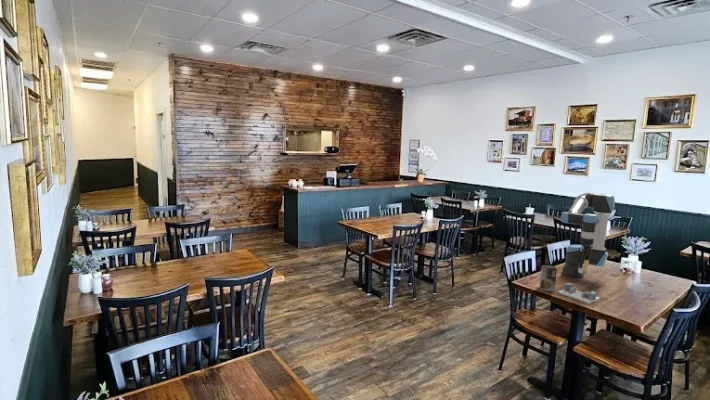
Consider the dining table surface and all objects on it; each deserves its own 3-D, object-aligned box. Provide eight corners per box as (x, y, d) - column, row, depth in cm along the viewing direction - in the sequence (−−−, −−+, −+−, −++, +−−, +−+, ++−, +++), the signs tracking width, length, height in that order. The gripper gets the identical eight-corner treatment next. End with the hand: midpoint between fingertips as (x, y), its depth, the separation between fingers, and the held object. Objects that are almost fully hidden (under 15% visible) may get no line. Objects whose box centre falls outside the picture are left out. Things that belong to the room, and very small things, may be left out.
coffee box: (553, 288, 271) (555, 266, 268) (554, 291, 265) (557, 269, 262) (539, 286, 274) (541, 264, 271) (540, 289, 268) (542, 267, 265)
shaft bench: (557, 293, 263) (558, 285, 262) (568, 289, 271) (569, 281, 270) (589, 303, 247) (590, 295, 246) (599, 299, 254) (600, 291, 254)
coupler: (585, 274, 252) (586, 261, 251) (576, 272, 257) (578, 259, 255) (588, 273, 255) (590, 260, 254) (580, 270, 260) (582, 257, 258)
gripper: (586, 240, 244) (581, 276, 248) (600, 237, 254) (595, 271, 258) (574, 238, 250) (570, 272, 254) (588, 234, 261) (583, 268, 264)
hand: (582, 271), depth 256 cm, fingers closed on coupler, 5 cm apart
